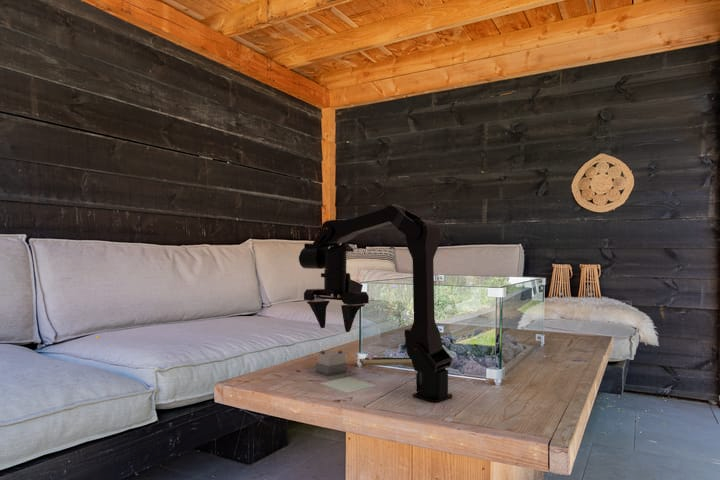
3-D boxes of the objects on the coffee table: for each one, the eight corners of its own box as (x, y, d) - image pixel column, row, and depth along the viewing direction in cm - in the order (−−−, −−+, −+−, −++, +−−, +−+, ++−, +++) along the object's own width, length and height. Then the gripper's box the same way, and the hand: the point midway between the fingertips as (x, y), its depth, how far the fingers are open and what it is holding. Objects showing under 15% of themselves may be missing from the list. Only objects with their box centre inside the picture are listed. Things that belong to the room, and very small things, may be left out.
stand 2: (377, 391, 110) (377, 385, 110) (347, 399, 104) (347, 392, 104) (348, 383, 117) (348, 376, 117) (319, 389, 111) (319, 383, 111)
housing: (346, 372, 122) (346, 350, 122) (328, 376, 118) (328, 354, 118) (334, 369, 125) (334, 348, 126) (315, 372, 121) (316, 351, 121)
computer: (411, 364, 139) (411, 353, 140) (419, 371, 131) (419, 359, 132) (358, 366, 137) (358, 354, 137) (362, 373, 129) (362, 361, 129)
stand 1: (357, 379, 121) (357, 373, 121) (330, 385, 115) (330, 379, 115) (332, 372, 128) (332, 366, 128) (305, 377, 122) (305, 371, 122)
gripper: (383, 269, 123) (382, 330, 122) (332, 268, 136) (332, 323, 135) (353, 270, 115) (353, 335, 114) (302, 268, 127) (302, 327, 127)
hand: (335, 329), depth 123 cm, fingers open, 9 cm apart
